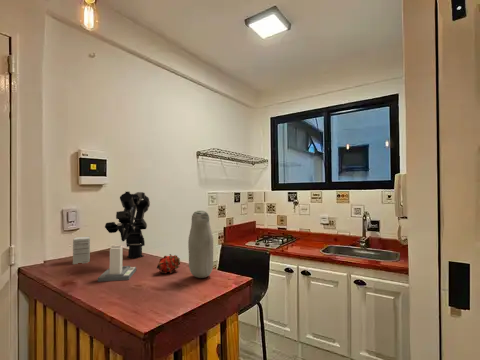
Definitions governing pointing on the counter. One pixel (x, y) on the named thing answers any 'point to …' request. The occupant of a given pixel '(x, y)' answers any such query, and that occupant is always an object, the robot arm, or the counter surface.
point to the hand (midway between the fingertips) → (122, 240)
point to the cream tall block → (116, 259)
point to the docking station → (125, 274)
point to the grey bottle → (200, 245)
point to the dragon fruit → (168, 264)
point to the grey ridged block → (81, 250)
